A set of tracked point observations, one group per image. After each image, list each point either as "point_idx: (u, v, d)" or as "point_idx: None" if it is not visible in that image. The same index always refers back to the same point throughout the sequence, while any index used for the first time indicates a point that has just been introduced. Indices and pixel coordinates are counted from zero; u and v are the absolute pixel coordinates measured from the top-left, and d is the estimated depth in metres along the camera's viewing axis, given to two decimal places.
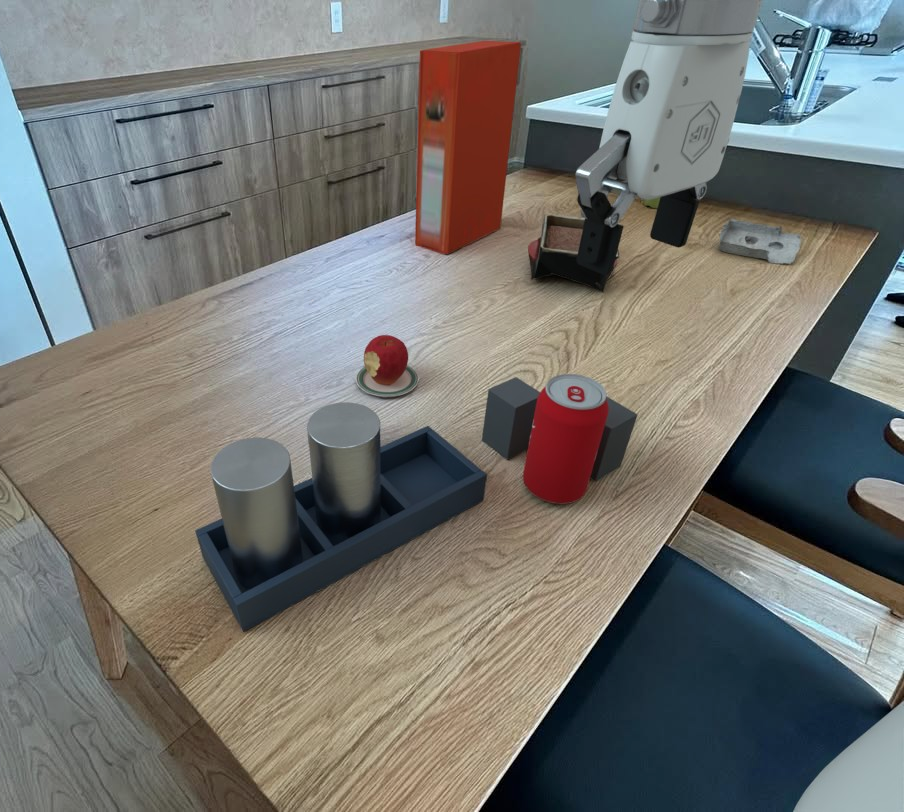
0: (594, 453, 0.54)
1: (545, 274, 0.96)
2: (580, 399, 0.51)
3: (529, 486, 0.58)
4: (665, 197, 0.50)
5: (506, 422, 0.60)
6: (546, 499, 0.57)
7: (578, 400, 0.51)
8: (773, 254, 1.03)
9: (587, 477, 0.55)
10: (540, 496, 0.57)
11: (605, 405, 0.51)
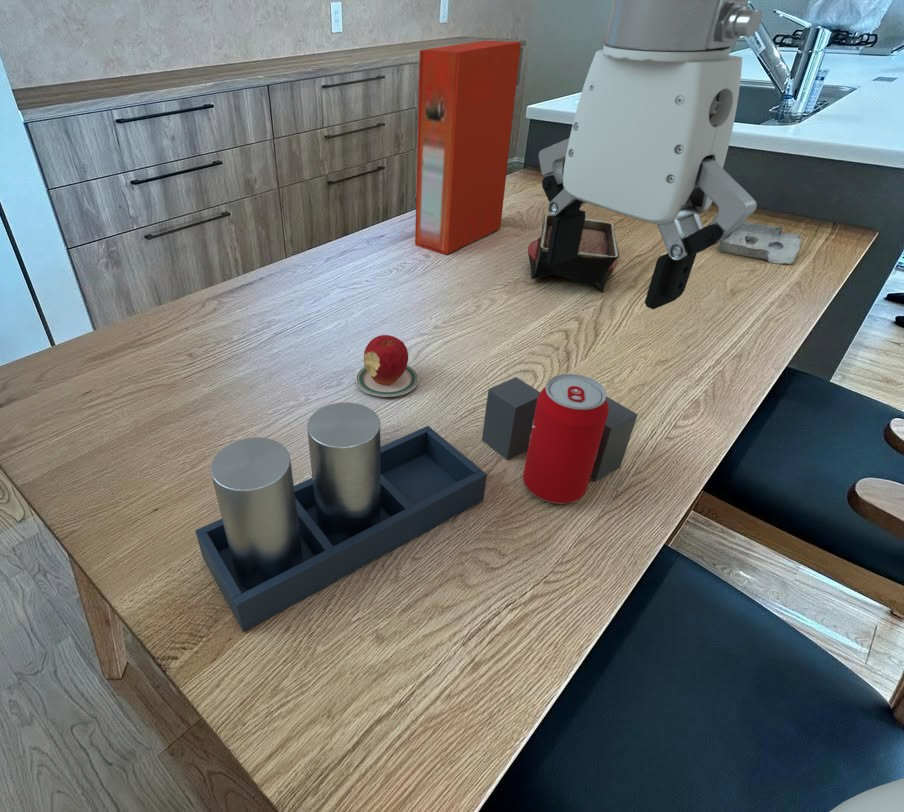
0: (594, 453, 0.54)
1: (545, 274, 0.96)
2: (580, 399, 0.51)
3: (529, 486, 0.58)
4: (564, 221, 0.47)
5: (506, 422, 0.60)
6: (546, 499, 0.57)
7: (578, 400, 0.51)
8: (773, 254, 1.03)
9: (587, 477, 0.55)
10: (540, 496, 0.57)
11: (605, 405, 0.51)
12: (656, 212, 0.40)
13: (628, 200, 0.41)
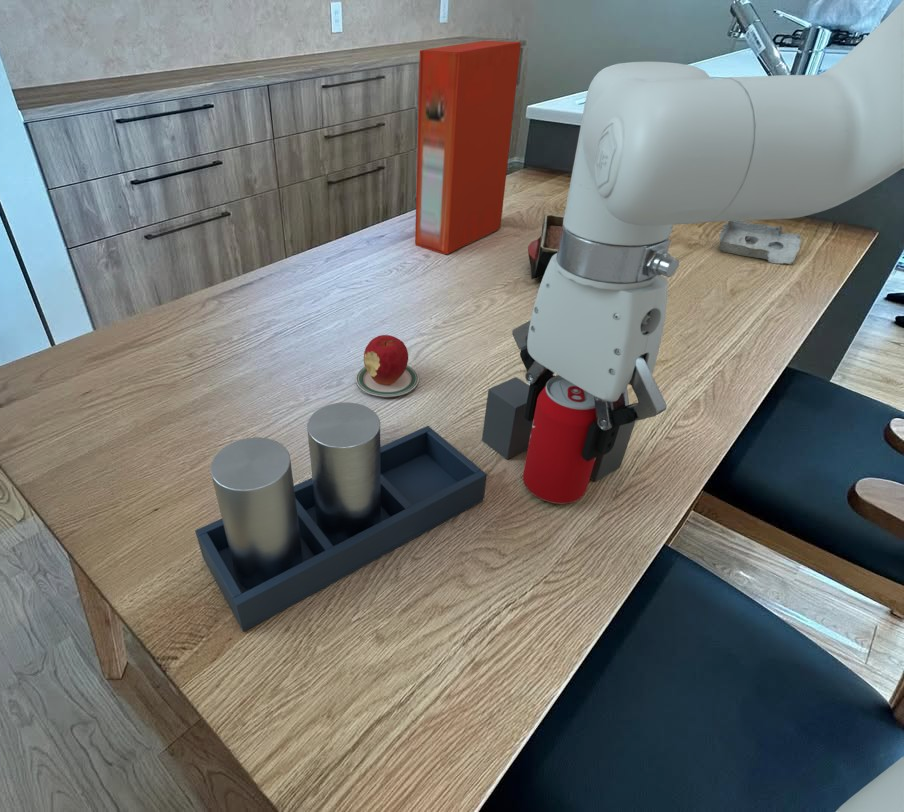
0: None
1: None
2: (580, 399, 0.51)
3: (529, 486, 0.58)
4: (539, 389, 0.55)
5: (506, 422, 0.60)
6: (546, 499, 0.57)
7: (578, 400, 0.51)
8: (773, 254, 1.03)
9: (587, 477, 0.55)
10: (540, 496, 0.57)
11: None
12: (602, 393, 0.47)
13: (579, 378, 0.48)
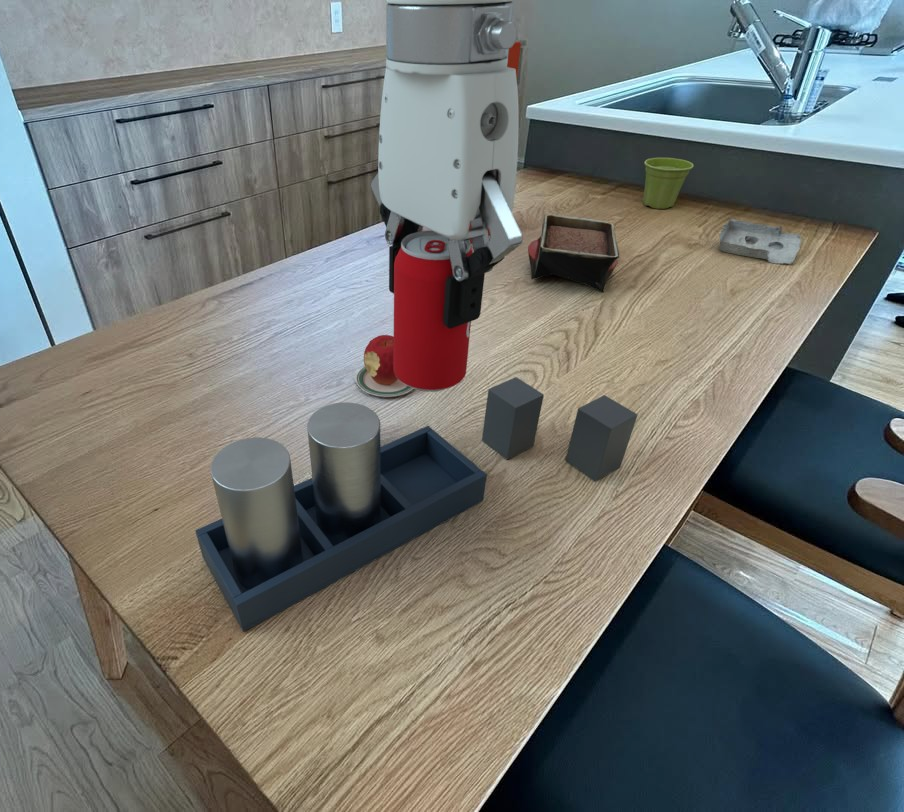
0: None
1: (545, 274, 0.96)
2: (437, 250, 0.42)
3: (397, 372, 0.49)
4: None
5: (506, 422, 0.60)
6: (414, 385, 0.48)
7: (435, 251, 0.42)
8: (773, 254, 1.03)
9: (459, 356, 0.47)
10: (407, 382, 0.48)
11: None
12: (449, 227, 0.38)
13: (427, 215, 0.40)
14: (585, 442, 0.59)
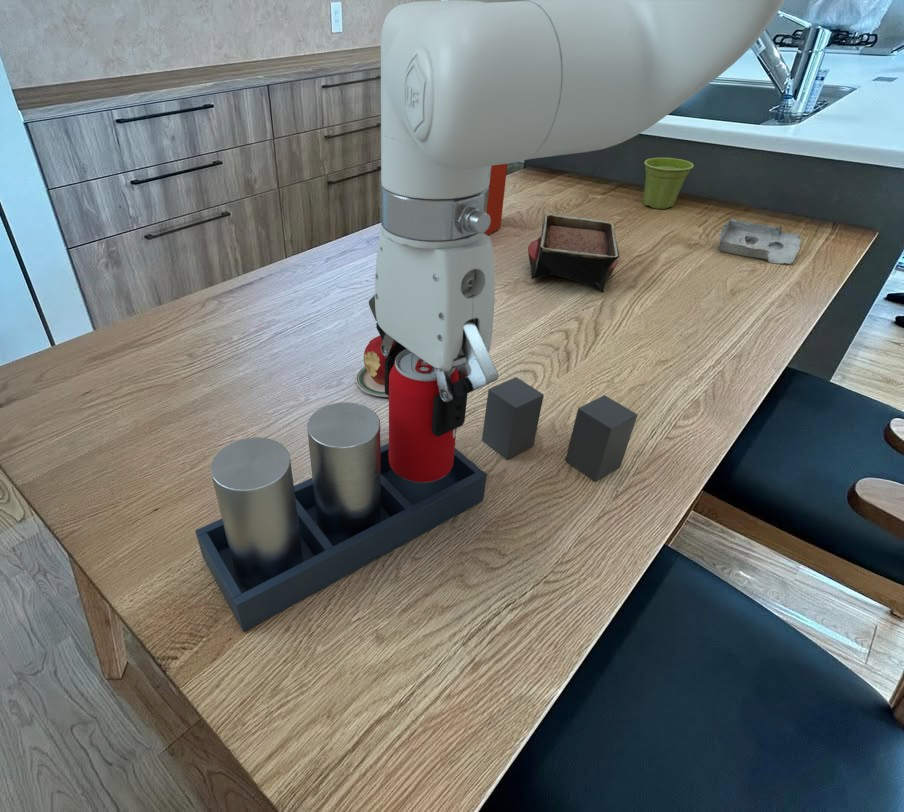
0: None
1: (545, 274, 0.96)
2: (426, 370, 0.49)
3: (391, 465, 0.55)
4: (394, 362, 0.52)
5: (506, 422, 0.60)
6: (406, 478, 0.54)
7: (424, 372, 0.48)
8: (773, 254, 1.03)
9: (446, 454, 0.53)
10: (401, 475, 0.54)
11: (454, 377, 0.49)
12: (436, 362, 0.45)
13: (417, 347, 0.46)
14: (585, 442, 0.59)
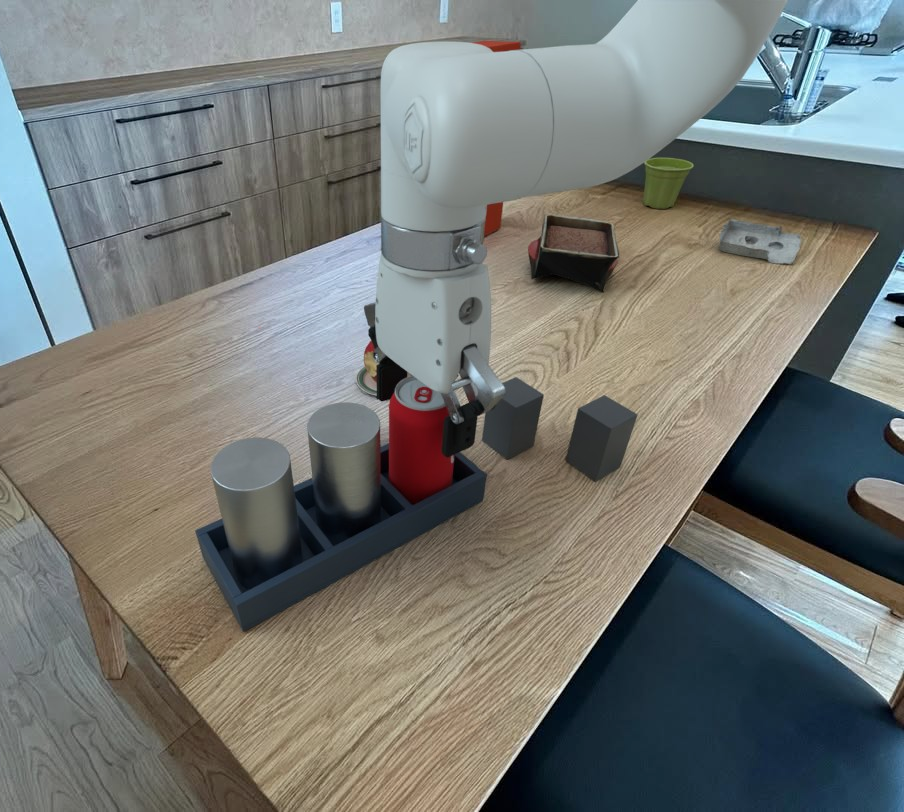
0: None
1: (545, 274, 0.96)
2: (425, 400, 0.50)
3: None
4: (385, 368, 0.54)
5: (506, 422, 0.60)
6: None
7: (423, 401, 0.50)
8: (773, 254, 1.03)
9: (445, 479, 0.55)
10: None
11: None
12: (435, 385, 0.46)
13: (416, 370, 0.47)
14: (585, 442, 0.59)
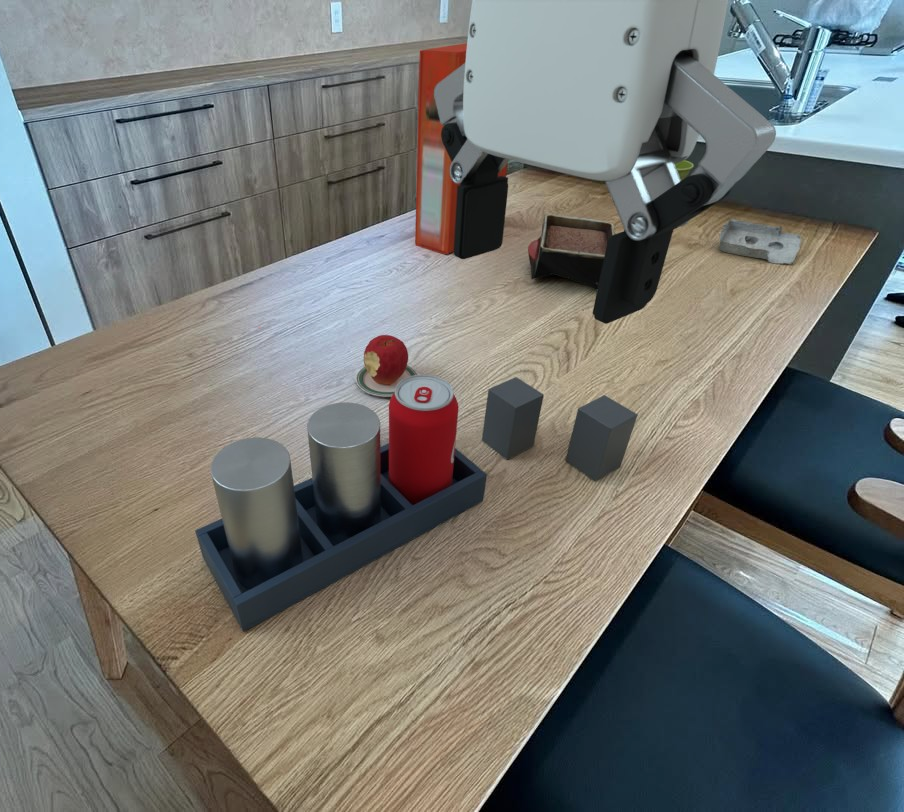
0: (447, 455, 0.53)
1: (545, 274, 0.96)
2: (425, 400, 0.50)
3: None
4: (473, 190, 0.31)
5: (506, 422, 0.60)
6: None
7: (422, 401, 0.50)
8: (773, 254, 1.03)
9: (445, 479, 0.55)
10: None
11: (451, 406, 0.51)
12: (601, 158, 0.23)
13: (556, 143, 0.24)
14: (585, 442, 0.59)
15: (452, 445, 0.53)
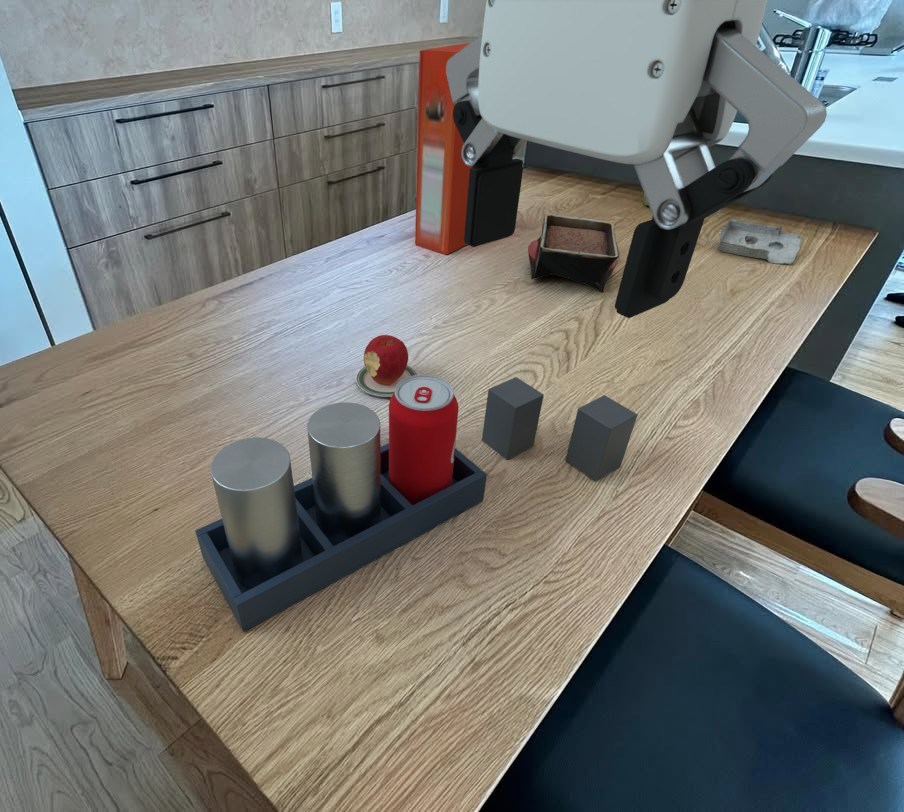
0: (447, 455, 0.53)
1: (545, 274, 0.96)
2: (425, 400, 0.50)
3: None
4: (487, 174, 0.29)
5: (506, 422, 0.60)
6: None
7: (422, 401, 0.50)
8: (773, 254, 1.03)
9: (445, 479, 0.55)
10: None
11: (451, 406, 0.51)
12: (631, 140, 0.21)
13: (581, 122, 0.23)
14: (585, 442, 0.59)
15: (452, 445, 0.53)
